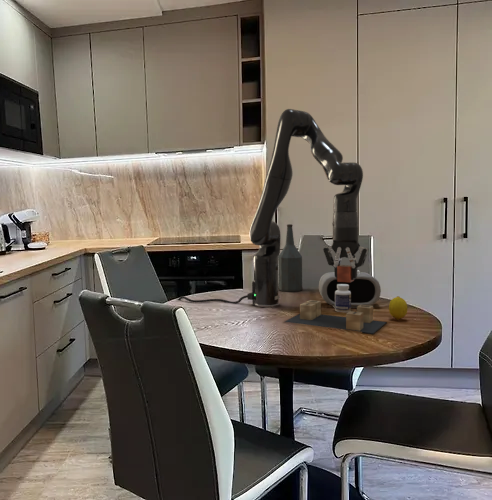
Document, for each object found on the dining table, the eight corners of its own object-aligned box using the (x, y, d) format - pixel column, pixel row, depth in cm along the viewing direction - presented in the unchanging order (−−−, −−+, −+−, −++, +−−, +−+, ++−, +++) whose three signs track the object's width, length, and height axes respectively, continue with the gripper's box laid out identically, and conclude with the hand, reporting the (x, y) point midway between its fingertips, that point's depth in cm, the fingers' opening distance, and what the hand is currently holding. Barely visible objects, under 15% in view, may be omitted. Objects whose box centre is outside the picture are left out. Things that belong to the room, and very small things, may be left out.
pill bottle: (352, 313, 174) (352, 286, 173) (336, 312, 175) (336, 286, 174) (349, 309, 179) (349, 283, 178) (333, 309, 180) (333, 283, 179)
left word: (299, 318, 167) (299, 304, 166) (309, 313, 174) (309, 299, 173) (311, 320, 164) (311, 305, 164) (321, 315, 171) (320, 300, 171)
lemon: (405, 318, 163) (406, 294, 163) (408, 322, 158) (409, 298, 157) (387, 317, 165) (387, 294, 164) (389, 321, 160) (390, 297, 159)
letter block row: (346, 329, 152) (346, 313, 151) (360, 319, 163) (360, 304, 163) (359, 331, 149) (359, 314, 149) (373, 320, 161) (373, 305, 160)
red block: (337, 281, 156) (337, 265, 156) (341, 279, 159) (341, 264, 159) (350, 282, 153) (350, 266, 153) (354, 280, 156) (354, 264, 156)
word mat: (284, 322, 164) (284, 321, 164) (302, 313, 176) (302, 312, 176) (373, 334, 146) (373, 333, 146) (386, 323, 158) (386, 321, 158)
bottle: (280, 292, 217) (279, 225, 214) (277, 288, 227) (276, 224, 224) (304, 292, 215) (303, 224, 212) (300, 288, 225) (299, 223, 222)
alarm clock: (321, 308, 183) (321, 273, 182) (318, 302, 192) (318, 269, 191) (381, 308, 178) (381, 272, 177) (375, 303, 187) (375, 268, 186)
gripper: (372, 225, 153) (372, 278, 154) (327, 225, 162) (327, 276, 164) (365, 226, 147) (365, 282, 149) (318, 226, 156) (319, 279, 158)
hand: (345, 278), depth 156 cm, fingers closed on red block, 4 cm apart
